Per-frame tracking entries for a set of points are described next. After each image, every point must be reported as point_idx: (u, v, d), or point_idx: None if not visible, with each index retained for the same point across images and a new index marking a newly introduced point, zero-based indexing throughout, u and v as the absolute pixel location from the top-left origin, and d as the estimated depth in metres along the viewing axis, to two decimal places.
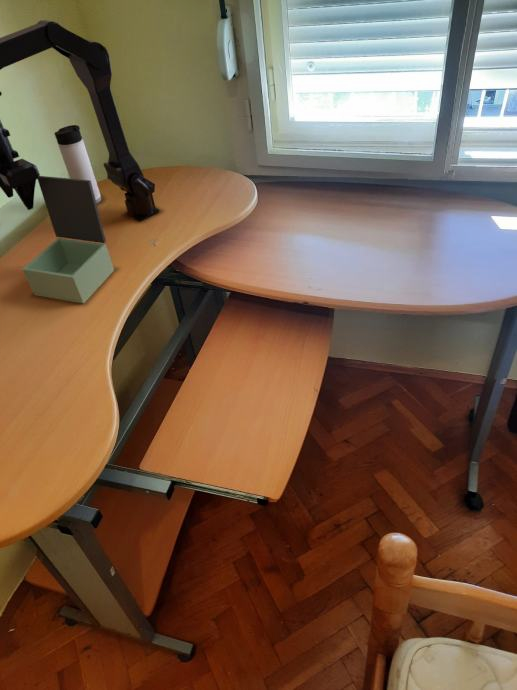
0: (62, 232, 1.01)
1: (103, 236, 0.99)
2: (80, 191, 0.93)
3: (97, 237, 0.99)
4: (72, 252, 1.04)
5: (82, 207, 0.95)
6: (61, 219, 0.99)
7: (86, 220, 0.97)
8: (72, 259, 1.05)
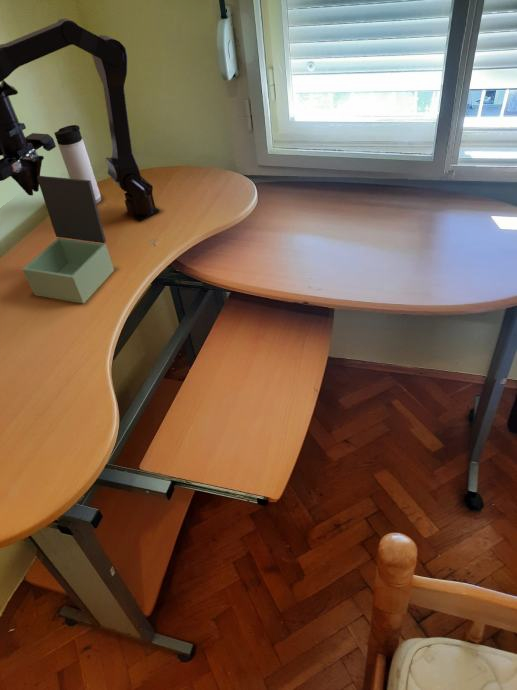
0: (62, 232, 1.01)
1: (103, 236, 0.99)
2: (80, 191, 0.93)
3: (97, 237, 0.99)
4: (72, 252, 1.04)
5: (82, 207, 0.95)
6: (61, 219, 0.99)
7: (86, 220, 0.97)
8: (72, 259, 1.05)
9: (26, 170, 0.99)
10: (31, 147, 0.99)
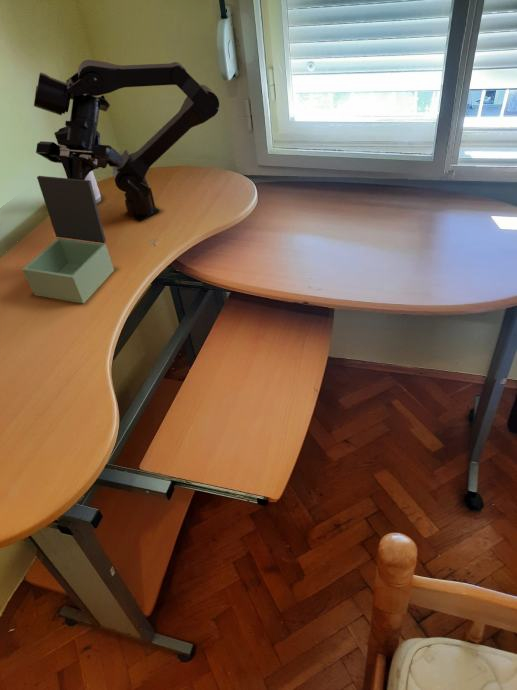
0: (62, 232, 1.01)
1: (103, 236, 0.99)
2: (80, 191, 0.93)
3: (97, 237, 0.99)
4: (72, 252, 1.04)
5: (82, 207, 0.95)
6: (61, 219, 0.99)
7: (86, 220, 0.97)
8: (72, 259, 1.05)
9: (64, 158, 1.01)
10: (79, 143, 1.00)
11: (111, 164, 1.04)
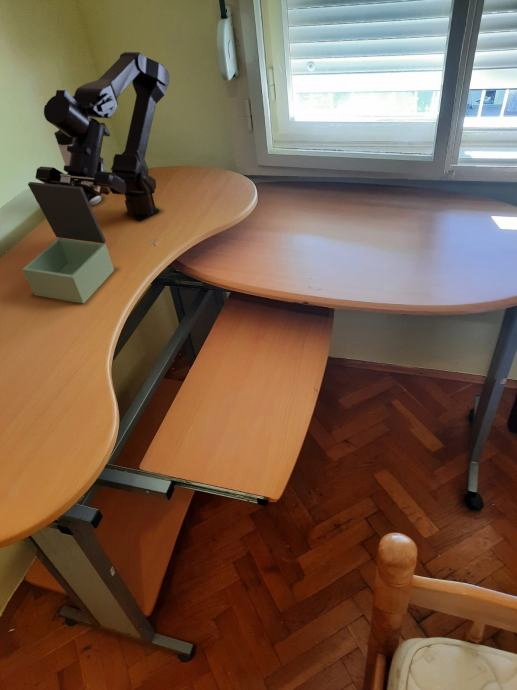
0: (61, 234, 1.01)
1: (103, 237, 0.98)
2: (73, 197, 0.91)
3: (96, 238, 0.99)
4: (72, 252, 1.04)
5: (77, 212, 0.94)
6: (58, 222, 0.98)
7: (83, 223, 0.96)
8: (72, 259, 1.05)
9: None
10: (80, 170, 0.95)
11: (114, 191, 0.99)
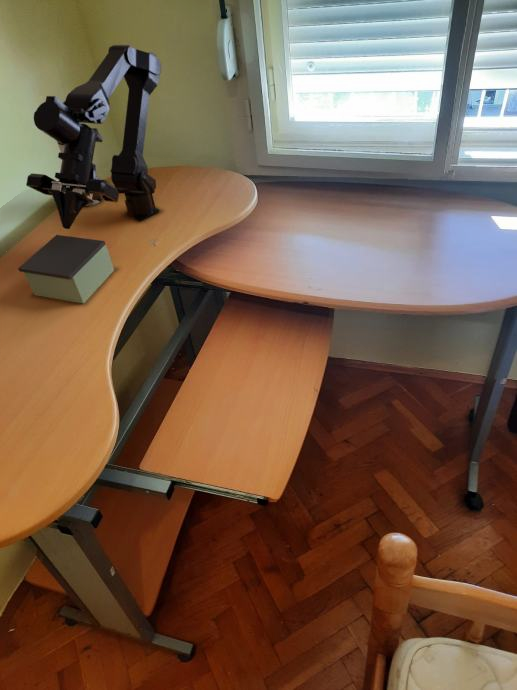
0: None
1: (101, 245, 0.99)
2: None
3: None
4: None
5: None
6: None
7: None
8: None
9: (56, 192, 0.94)
10: (72, 177, 0.93)
11: (107, 199, 0.97)
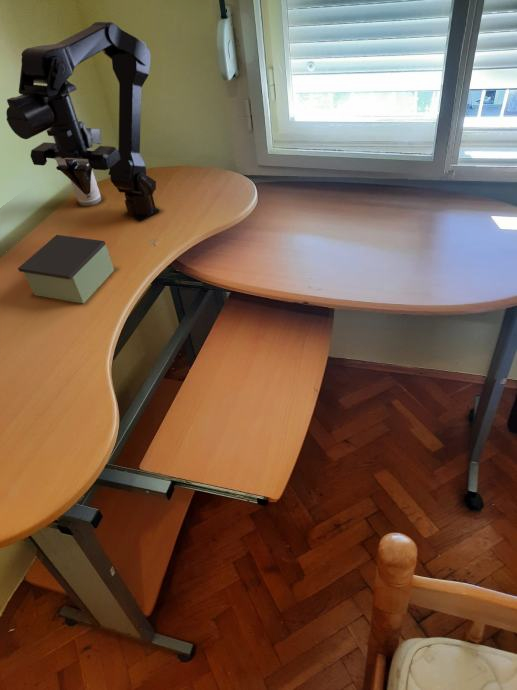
0: None
1: (101, 245, 0.99)
2: None
3: None
4: None
5: None
6: None
7: None
8: None
9: (65, 170, 0.98)
10: (72, 155, 0.95)
11: None
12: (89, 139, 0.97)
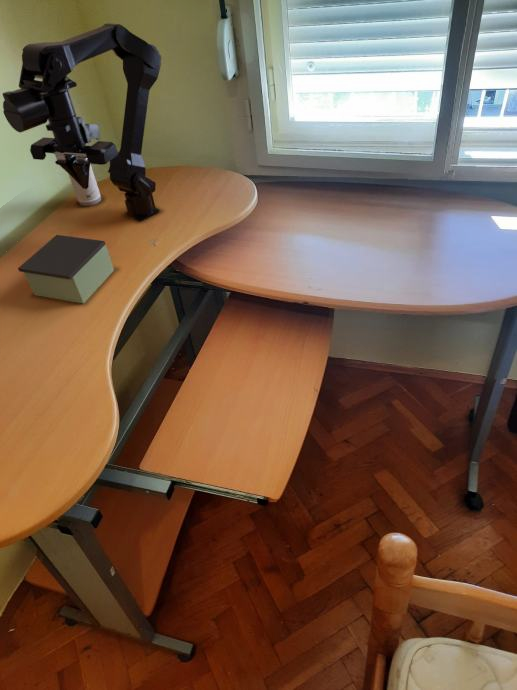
0: None
1: (101, 245, 0.99)
2: None
3: None
4: None
5: None
6: None
7: None
8: None
9: (63, 165, 1.00)
10: (70, 150, 0.97)
11: None
12: (87, 134, 0.99)
